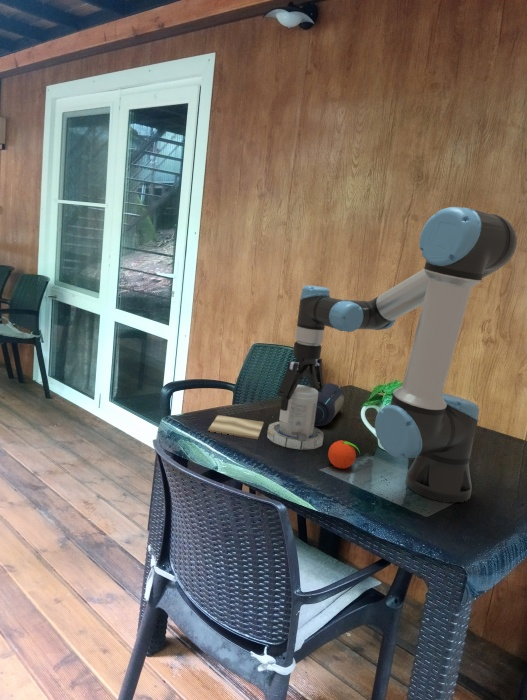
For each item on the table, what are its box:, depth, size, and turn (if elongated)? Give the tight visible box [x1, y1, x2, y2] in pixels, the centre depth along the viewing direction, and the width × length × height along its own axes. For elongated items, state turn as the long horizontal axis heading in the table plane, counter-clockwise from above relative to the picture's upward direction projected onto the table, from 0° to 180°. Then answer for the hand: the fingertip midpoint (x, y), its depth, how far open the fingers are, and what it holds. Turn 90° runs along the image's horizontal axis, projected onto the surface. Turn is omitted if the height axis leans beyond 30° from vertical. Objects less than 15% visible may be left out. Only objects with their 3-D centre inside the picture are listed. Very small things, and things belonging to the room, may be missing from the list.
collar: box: [266, 421, 325, 451], centre depth 160 cm, size 16×16×4 cm
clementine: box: [327, 439, 361, 469], centre depth 143 cm, size 8×7×7 cm
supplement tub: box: [278, 384, 318, 439], centre depth 159 cm, size 10×10×15 cm
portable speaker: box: [314, 382, 346, 427], centre depth 183 cm, size 25×10×10 cm, turn 162°
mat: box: [207, 414, 265, 440], centre depth 164 cm, size 14×14×1 cm
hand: (297, 417), depth 160 cm, fingers open, 13 cm apart
